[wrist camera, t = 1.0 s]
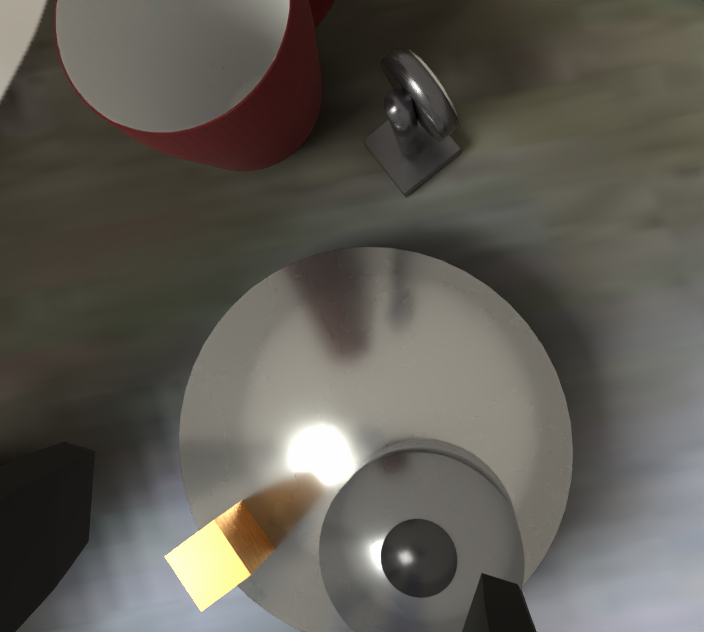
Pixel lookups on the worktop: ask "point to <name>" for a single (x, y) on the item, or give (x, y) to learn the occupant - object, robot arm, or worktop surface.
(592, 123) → the worktop surface
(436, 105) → the dial gauge
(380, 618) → the cover
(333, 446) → the turntable
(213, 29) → the mug
